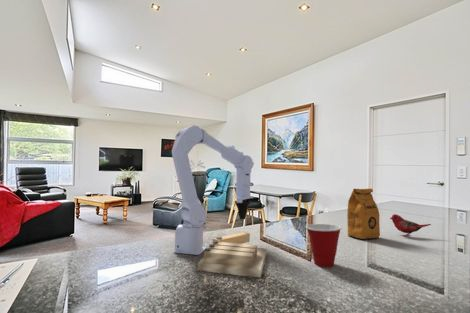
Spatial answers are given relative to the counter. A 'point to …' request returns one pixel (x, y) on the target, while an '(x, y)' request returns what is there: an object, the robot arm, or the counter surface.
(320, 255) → the plastic cup
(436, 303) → the counter surface
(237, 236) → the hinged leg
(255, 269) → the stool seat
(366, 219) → the coffee package
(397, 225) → the decorative bird figurine
